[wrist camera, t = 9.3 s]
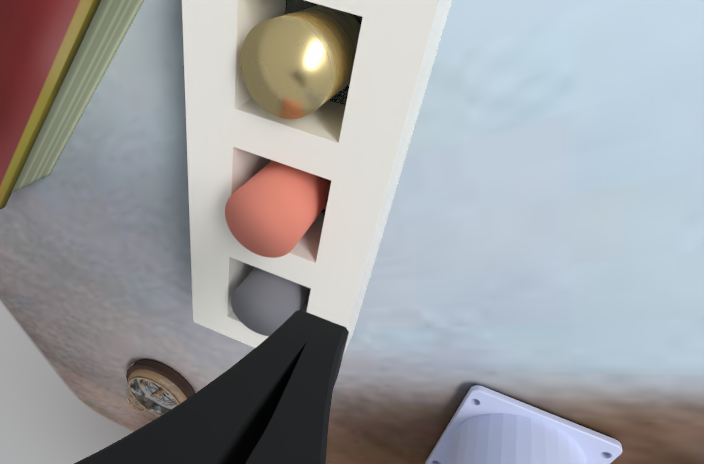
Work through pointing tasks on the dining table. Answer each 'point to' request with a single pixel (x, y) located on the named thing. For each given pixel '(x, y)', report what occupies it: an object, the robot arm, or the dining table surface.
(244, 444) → the robot arm
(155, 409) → the compass
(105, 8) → the hardcover book
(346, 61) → the brass plug
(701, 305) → the dining table surface
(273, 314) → the gray plug
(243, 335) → the socket board
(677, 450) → the dining table surface
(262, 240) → the red plug
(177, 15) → the dining table surface
